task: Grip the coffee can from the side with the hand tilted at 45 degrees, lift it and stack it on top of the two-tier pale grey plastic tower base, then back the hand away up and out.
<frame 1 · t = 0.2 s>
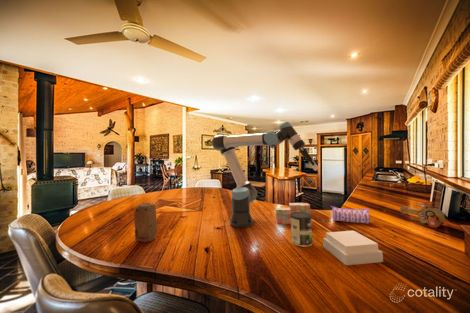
hand: (317, 169, 117), 35 cm above the counter, tool tilted 35°, fingers open, 13 cm apart
coffee can: (301, 242, 96), on the counter
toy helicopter: (422, 223, 115), on the counter
tower base: (350, 253, 83), on the counter
stack of blocks: (292, 222, 124), on the counter
block: (145, 240, 105), on the counter
pencil case: (350, 222, 122), on the counter
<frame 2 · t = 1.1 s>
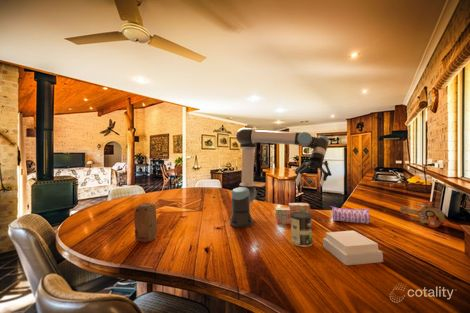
hand: (308, 184, 103), 28 cm above the counter, tool tilted 45°, fingers open, 13 cm apart
nothing on the counter moved.
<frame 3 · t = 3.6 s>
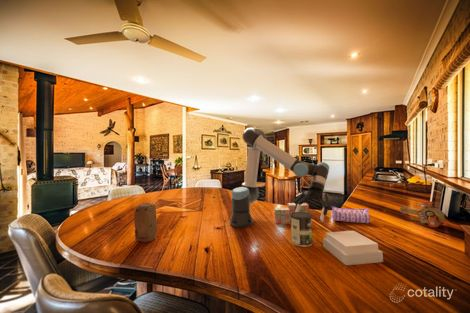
hand: (308, 217, 99), 11 cm above the counter, tool tilted 45°, fingers open, 13 cm apart
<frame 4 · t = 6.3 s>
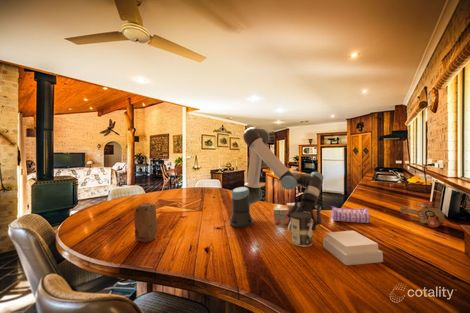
hand: (298, 233, 94), 6 cm above the counter, tool tilted 45°, fingers closed on coffee can, 10 cm apart
coffee can: (301, 242, 96), on the counter, touching gripper
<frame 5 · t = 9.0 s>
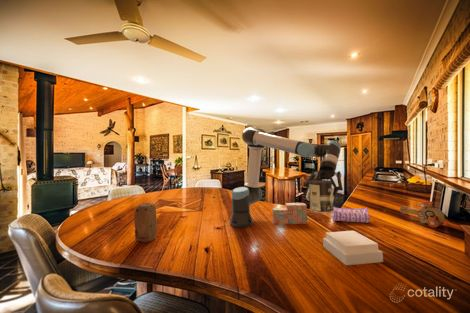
hand: (318, 200, 88), 23 cm above the counter, tool tilted 45°, fingers closed on coffee can, 10 cm apart
coffee can: (321, 210, 90), point 17 cm above the counter, touching gripper
when the fingers open (14 cm above the counter, at t = 12.0 s): coffee can drops 1 cm, resting on tower base.
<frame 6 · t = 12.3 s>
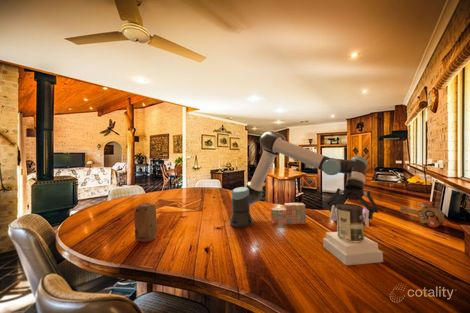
hand: (347, 221, 82), 15 cm above the counter, tool tilted 45°, fingers open, 13 cm apart
coffee can: (350, 238, 83), point 7 cm above the counter, touching tower base
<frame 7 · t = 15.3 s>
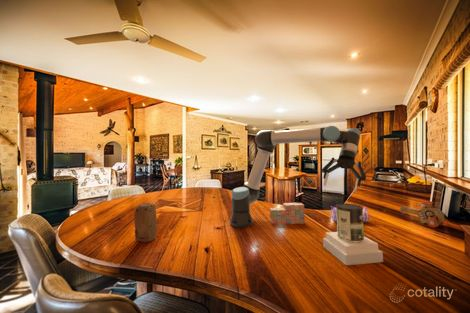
hand: (339, 187, 95), 27 cm above the counter, tool tilted 35°, fingers open, 13 cm apart
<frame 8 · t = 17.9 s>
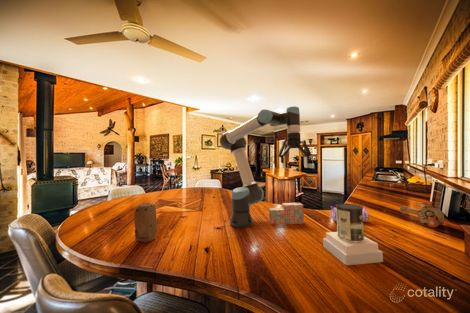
hand: (294, 168, 113), 37 cm above the counter, tool pointing down, fingers open, 13 cm apart
at the end: coffee can inside the target area on the tower base (0.1 cm from its centre), point 6.8 cm above the tower base's base; coffee can tilted 0°; the gripper is holding nothing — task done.
